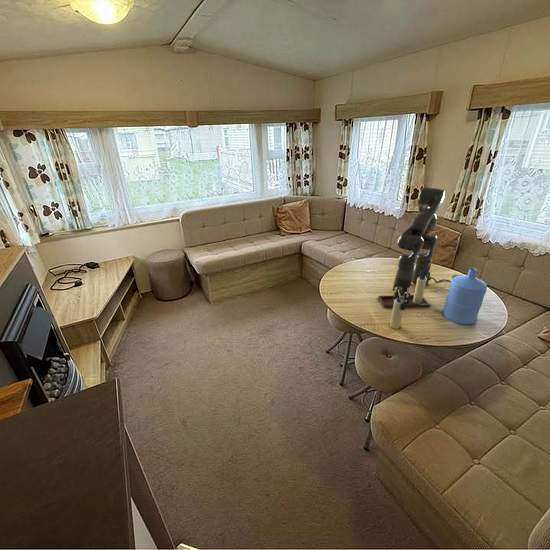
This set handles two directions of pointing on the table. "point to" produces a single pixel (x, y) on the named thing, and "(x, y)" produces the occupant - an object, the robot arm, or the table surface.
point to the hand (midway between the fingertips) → (398, 305)
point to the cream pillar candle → (396, 314)
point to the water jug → (465, 298)
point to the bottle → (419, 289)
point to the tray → (389, 302)
